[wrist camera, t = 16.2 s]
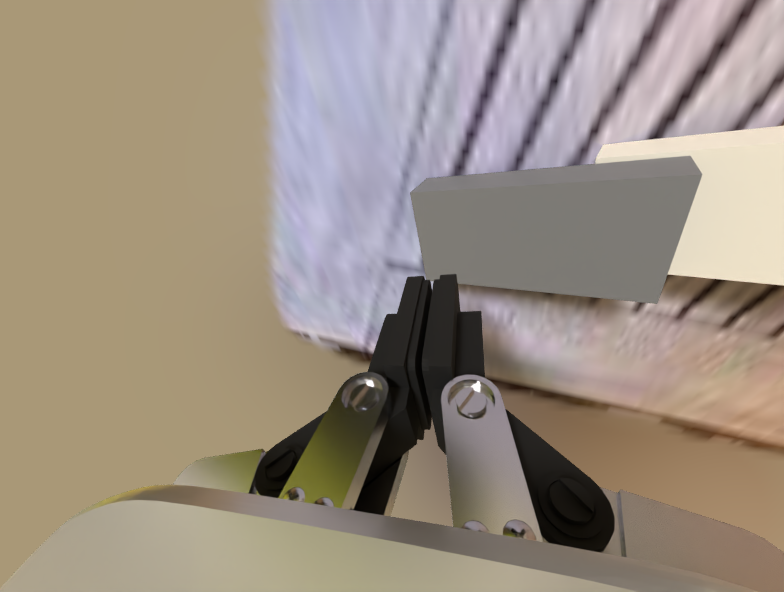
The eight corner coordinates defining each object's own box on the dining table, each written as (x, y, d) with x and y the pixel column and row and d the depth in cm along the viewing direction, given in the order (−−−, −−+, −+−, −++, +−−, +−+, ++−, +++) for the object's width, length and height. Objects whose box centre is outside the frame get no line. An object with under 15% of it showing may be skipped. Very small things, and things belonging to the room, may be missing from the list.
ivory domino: (603, 144, 13) (1102, 92, 7) (589, 246, 16) (943, 268, 10) (595, 158, 12) (1185, 108, 6) (582, 266, 15) (978, 304, 9)
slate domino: (426, 280, 17) (657, 303, 12) (410, 192, 14) (702, 174, 9) (439, 262, 18) (652, 275, 13) (426, 178, 15) (690, 155, 10)
